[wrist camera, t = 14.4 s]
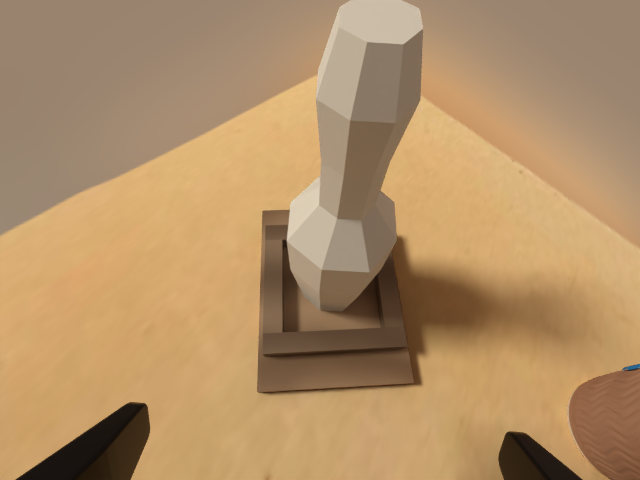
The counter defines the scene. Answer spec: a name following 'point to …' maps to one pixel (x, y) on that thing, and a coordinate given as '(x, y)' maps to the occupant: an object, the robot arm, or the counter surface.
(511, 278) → the counter surface
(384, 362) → the brown wooden tray
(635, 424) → the coffee cup
